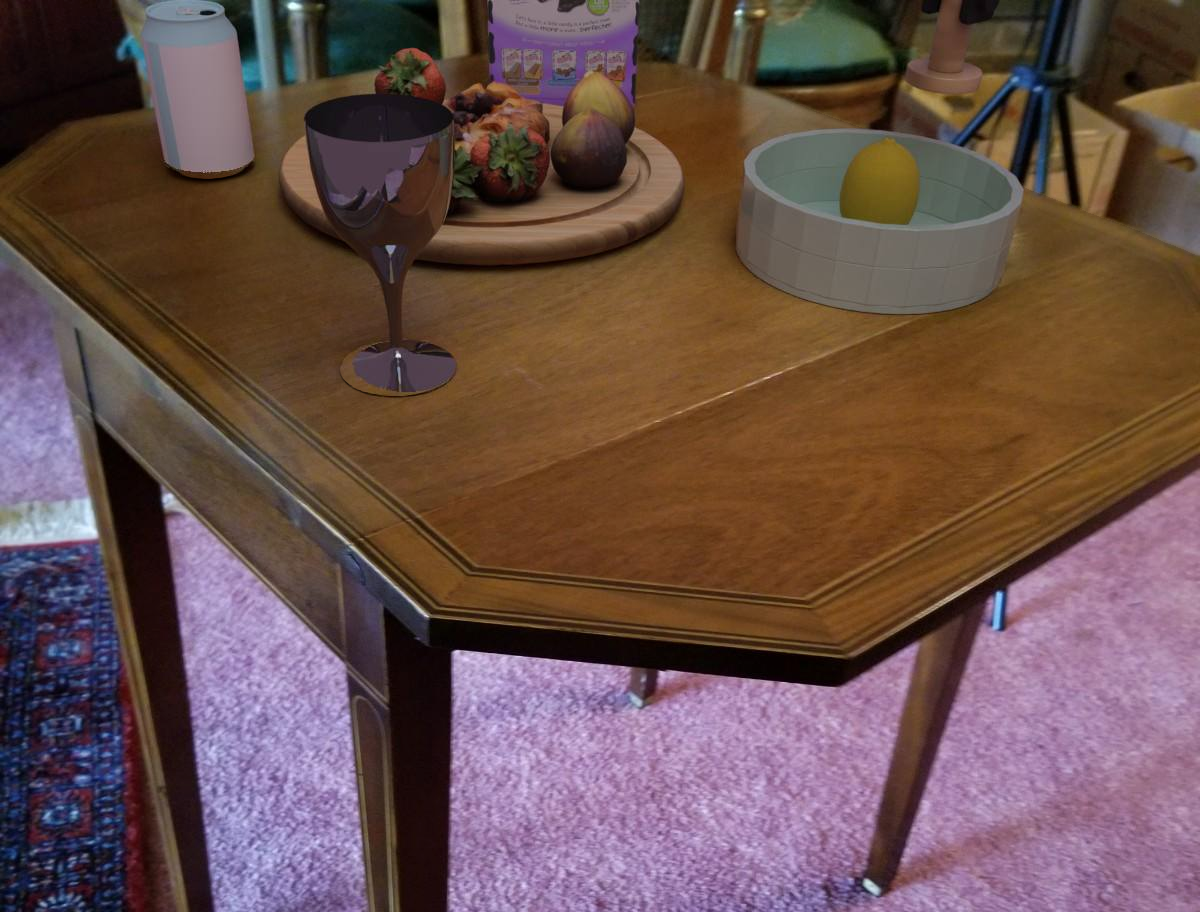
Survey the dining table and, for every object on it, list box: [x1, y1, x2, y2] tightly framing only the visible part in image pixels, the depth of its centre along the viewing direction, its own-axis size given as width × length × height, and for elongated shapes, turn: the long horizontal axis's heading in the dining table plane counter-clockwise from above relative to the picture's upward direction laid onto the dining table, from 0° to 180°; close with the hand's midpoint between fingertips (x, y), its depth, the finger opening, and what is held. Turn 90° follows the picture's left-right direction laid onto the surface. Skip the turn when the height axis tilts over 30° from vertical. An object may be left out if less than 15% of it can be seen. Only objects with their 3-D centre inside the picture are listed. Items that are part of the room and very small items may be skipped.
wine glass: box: [303, 93, 458, 392], centre depth 69 cm, size 8×8×15 cm
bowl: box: [735, 128, 1025, 315], centre depth 88 cm, size 20×20×6 cm
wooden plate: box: [278, 47, 686, 266], centre depth 94 cm, size 32×32×8 cm
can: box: [139, 0, 255, 173], centre depth 95 cm, size 7×7×12 cm
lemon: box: [839, 138, 920, 225], centre depth 87 cm, size 6×6×8 cm
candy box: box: [486, 0, 640, 109], centre depth 110 cm, size 14×6×16 cm, turn 91°
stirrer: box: [904, 0, 983, 95], centre depth 82 cm, size 5×5×10 cm
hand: (956, 13), depth 83 cm, fingers closed on stirrer, 2 cm apart
